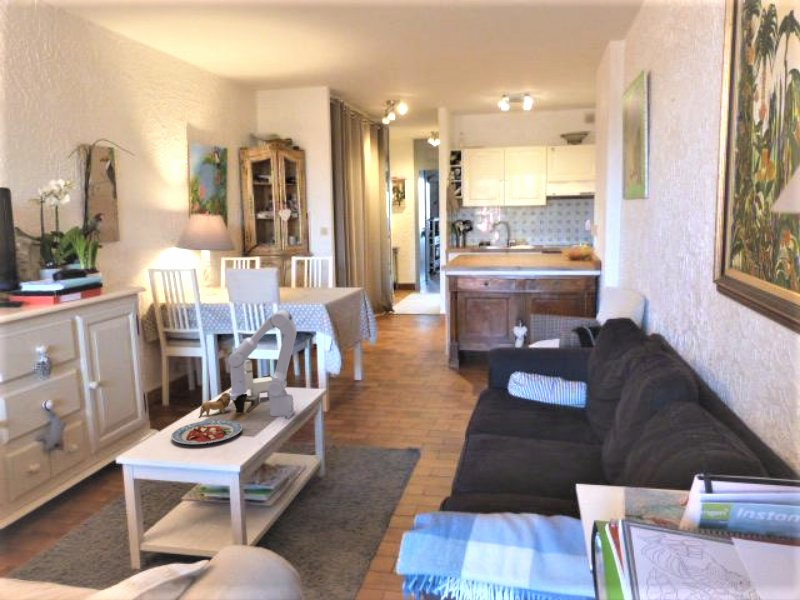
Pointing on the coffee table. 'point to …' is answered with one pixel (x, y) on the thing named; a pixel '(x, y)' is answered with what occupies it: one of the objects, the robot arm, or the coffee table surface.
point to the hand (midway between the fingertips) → (240, 412)
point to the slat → (247, 406)
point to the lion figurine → (216, 405)
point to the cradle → (242, 417)
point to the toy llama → (255, 381)
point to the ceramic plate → (206, 432)
